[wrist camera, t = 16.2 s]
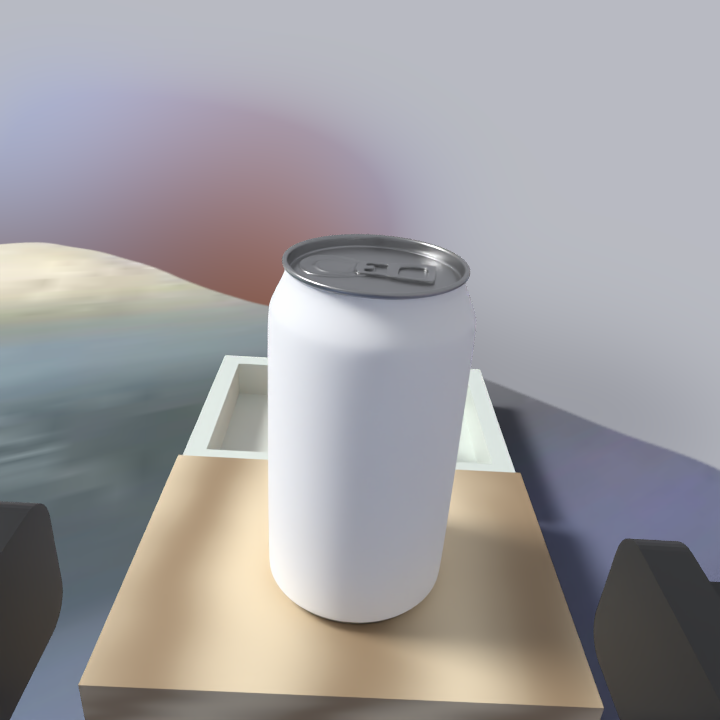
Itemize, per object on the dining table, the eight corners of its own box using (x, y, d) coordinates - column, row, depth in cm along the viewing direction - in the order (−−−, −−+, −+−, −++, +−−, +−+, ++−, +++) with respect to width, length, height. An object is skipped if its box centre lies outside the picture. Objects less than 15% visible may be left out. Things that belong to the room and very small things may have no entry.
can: (290, 498, 28) (294, 222, 23) (441, 519, 28) (482, 240, 22) (246, 616, 22) (238, 285, 17) (435, 646, 22) (489, 311, 16)
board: (90, 747, 21) (78, 685, 20) (182, 506, 32) (178, 454, 31) (583, 768, 22) (604, 708, 20) (510, 522, 32) (520, 472, 31)
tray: (183, 502, 32) (180, 460, 31) (226, 390, 42) (225, 355, 41) (508, 518, 32) (517, 477, 31) (474, 403, 43) (479, 369, 41)
